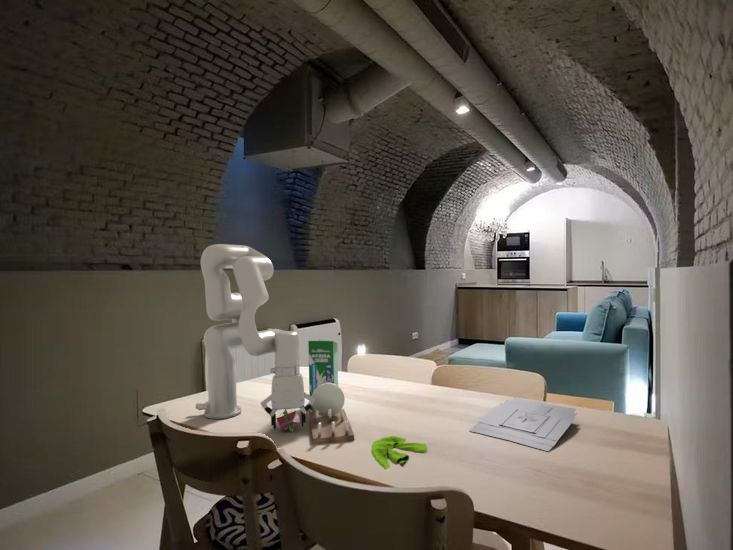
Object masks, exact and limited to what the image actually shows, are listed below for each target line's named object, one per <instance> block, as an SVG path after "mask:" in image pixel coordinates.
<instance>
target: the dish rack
mask: <svg viewBox="0 0 733 550" xmlns="http://www.w3.org/2000/svg"><path fill="white" fill-rule="evenodd" d="M308 411H309V413H308V414H309V424H310V428H311V429H310V431H311V437H312V439H311V440H312V443H313V445H314V444H316V445H317V444H325V443H326V444H327V443H338V442H348V441H355V434H354V431H353V429H352V426H351V424H350V421H349V419H348V415H347V414H346V411H345V410H344V422H341V411H340V412H339V413H337V414H336V415H334V416H331V423H328V417H323V416H320V415H319V423H321V435H322V437H318V424H316V412H314V410H308ZM346 420H348V425H349V435H345V421H346ZM333 421H334V422H335V436H332V422H333Z"/></svg>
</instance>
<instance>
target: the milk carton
mask: <svg viewBox="0 0 733 550" xmlns="http://www.w3.org/2000/svg"><path fill="white" fill-rule="evenodd" d="M338 358H339V357H338V342H336V341H334V340H330V338H323V337H321V338H318V340H308V381H309V383H308V384H309V385H308V388H309V391H308V393H309V394H308V395H310V396H312V394H313V392H314V390H315V389H316V388H317V387H318V386H320V385H321V384H324V383H333V384H335V385H337V386H339V367H338V366H339V365H338V362H339V361H338ZM309 411H314V409H313V407H312V406H311V408H310V409H309Z"/></svg>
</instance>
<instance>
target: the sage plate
mask: <svg viewBox="0 0 733 550" xmlns="http://www.w3.org/2000/svg"><path fill="white" fill-rule="evenodd" d="M312 397H313V398H315V401H314V403H313V405H312V407H313V409H314V410H313V411H316V410H319V415H320V416H323V417H328V409H331V416H334V415H336V414H337V413H339V412H340V411H341V408H343V407H344V405H345V394H344V392H343V389H342V388H341V387H340V386H339V385H338V386H337V385H335V384H333V383H324V384H321V385H320V386H318V387H317V388H316V389H315V390H314V392H313V394H312ZM343 409H344V408H343Z"/></svg>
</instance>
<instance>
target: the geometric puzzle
mask: <svg viewBox="0 0 733 550" xmlns="http://www.w3.org/2000/svg"><path fill="white" fill-rule="evenodd" d="M276 422H277V423H278V426H279V428H280V431H285V432H287V431H288V430H289V433H290V434H291V433H292V432H293V431H294V429H295V427H296V428H297V425H300V424H301V414H299V413H298V412H297V410H290V412H289V409H284V410H283V411H282V412H281V415H280V416H276ZM287 429H288V430H287Z"/></svg>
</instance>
